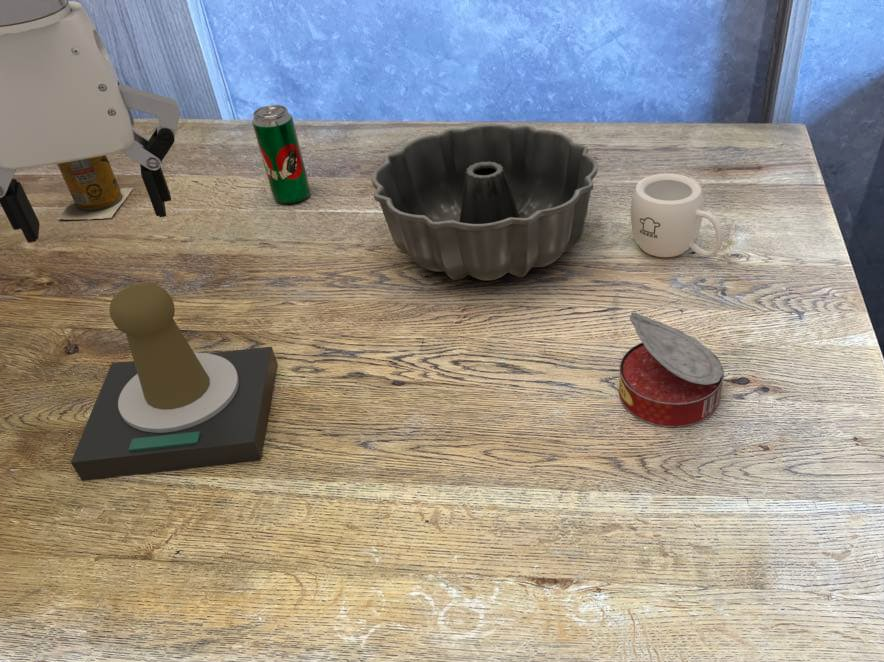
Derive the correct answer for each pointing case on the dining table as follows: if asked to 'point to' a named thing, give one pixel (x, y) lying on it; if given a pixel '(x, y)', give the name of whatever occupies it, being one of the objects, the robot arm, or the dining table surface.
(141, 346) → the cork
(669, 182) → the mug
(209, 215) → the dining table surface
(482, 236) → the bundt pan
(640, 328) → the canned food
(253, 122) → the soda can
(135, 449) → the scale
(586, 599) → the dining table surface
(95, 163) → the condiment
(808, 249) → the dining table surface
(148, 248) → the dining table surface
